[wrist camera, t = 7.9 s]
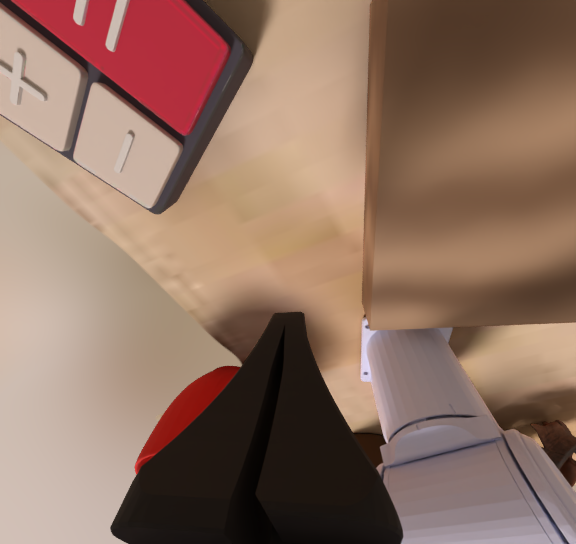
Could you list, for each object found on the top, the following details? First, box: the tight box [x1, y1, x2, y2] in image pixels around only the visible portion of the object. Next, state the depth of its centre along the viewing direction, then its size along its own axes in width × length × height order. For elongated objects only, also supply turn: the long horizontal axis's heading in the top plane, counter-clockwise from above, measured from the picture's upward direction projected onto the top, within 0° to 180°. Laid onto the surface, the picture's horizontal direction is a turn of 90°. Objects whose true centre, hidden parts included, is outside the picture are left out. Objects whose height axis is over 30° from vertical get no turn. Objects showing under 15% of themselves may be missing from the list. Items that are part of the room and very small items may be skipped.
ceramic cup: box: [135, 366, 241, 474], centre depth 27 cm, size 13×17×10 cm
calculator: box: [0, 0, 253, 214], centre depth 12 cm, size 11×4×15 cm
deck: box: [362, 0, 576, 331], centre depth 14 cm, size 19×14×4 cm
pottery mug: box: [531, 420, 576, 487], centre depth 29 cm, size 12×10×8 cm
